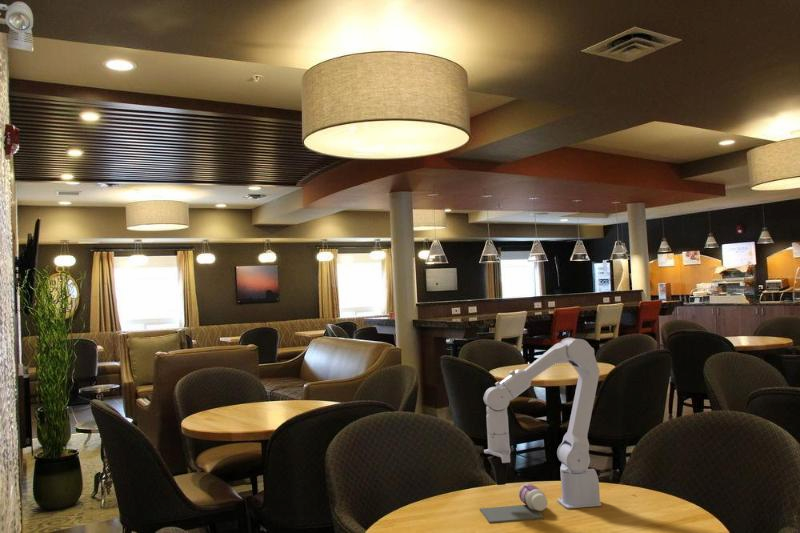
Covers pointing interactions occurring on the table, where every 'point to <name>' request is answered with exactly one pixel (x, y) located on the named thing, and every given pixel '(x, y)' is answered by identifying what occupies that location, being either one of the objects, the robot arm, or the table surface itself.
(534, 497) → the pill bottle
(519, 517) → the mat
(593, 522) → the table surface
